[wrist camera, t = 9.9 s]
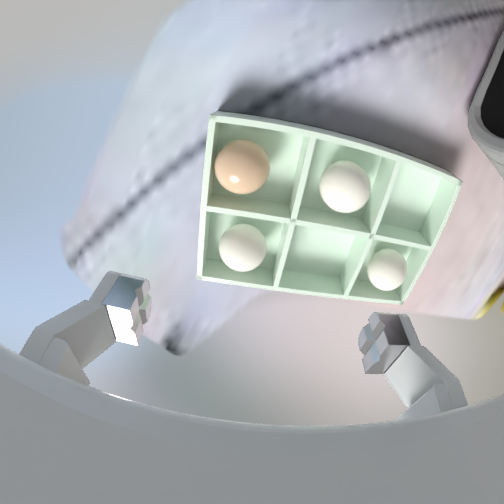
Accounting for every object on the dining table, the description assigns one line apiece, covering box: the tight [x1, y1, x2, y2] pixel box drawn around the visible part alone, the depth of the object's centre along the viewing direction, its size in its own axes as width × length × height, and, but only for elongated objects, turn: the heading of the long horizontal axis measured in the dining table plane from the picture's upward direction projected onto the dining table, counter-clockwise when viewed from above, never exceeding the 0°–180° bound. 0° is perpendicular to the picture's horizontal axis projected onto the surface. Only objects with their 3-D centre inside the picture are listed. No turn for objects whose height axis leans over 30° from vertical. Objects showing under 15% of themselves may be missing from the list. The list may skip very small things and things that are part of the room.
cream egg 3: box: [367, 248, 407, 291], centre depth 26 cm, size 4×4×4 cm
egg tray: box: [197, 111, 463, 305], centre depth 25 cm, size 23×16×4 cm
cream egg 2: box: [319, 160, 371, 213], centre depth 22 cm, size 4×4×4 cm
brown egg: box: [214, 140, 270, 194], centre depth 21 cm, size 4×4×4 cm
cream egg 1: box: [219, 223, 267, 272], centre depth 26 cm, size 4×4×4 cm
